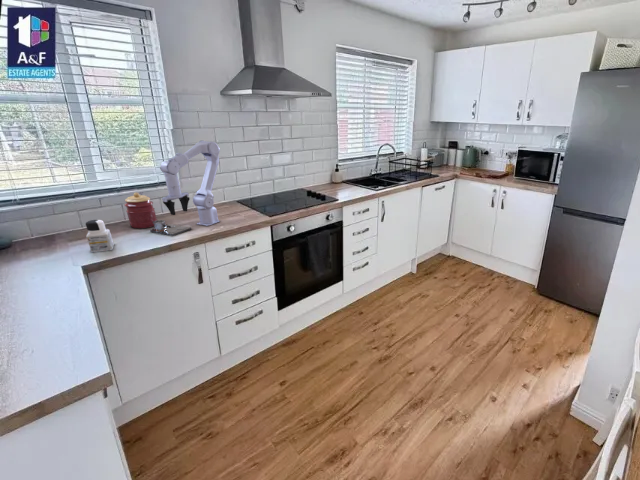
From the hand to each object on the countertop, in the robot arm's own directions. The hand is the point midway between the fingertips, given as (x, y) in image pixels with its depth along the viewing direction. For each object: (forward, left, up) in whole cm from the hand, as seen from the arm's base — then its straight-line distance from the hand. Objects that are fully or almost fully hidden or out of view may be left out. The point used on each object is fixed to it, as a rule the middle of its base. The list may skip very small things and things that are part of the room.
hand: (179, 213), depth 190 cm
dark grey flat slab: (+3, -5, -9) cm, 11 cm away
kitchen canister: (+2, -25, -10) cm, 27 cm away
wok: (+6, -6, -8) cm, 12 cm away
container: (+35, -11, -10) cm, 38 cm away
